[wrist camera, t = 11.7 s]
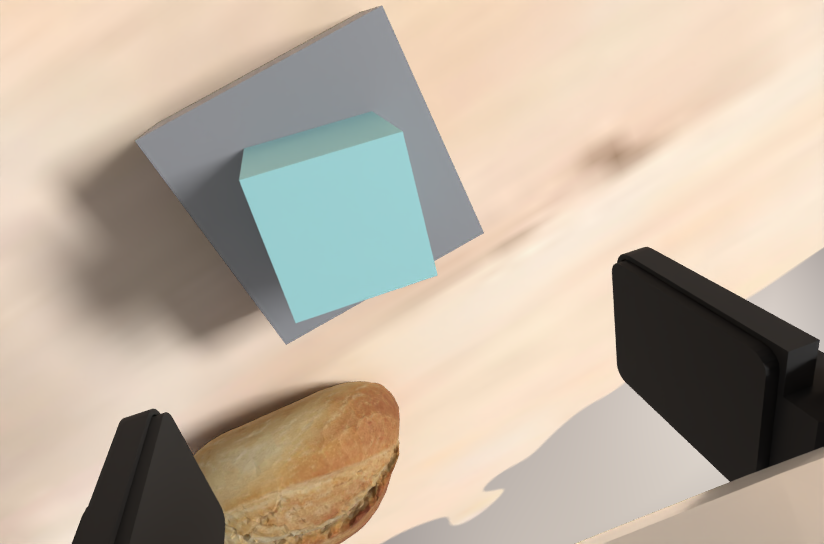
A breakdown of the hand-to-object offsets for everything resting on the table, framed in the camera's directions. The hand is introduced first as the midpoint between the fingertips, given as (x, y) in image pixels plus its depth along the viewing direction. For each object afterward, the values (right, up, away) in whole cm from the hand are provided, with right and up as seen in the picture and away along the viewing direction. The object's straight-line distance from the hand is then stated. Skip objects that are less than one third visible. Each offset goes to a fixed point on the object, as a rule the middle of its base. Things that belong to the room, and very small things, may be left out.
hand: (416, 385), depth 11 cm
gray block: (-5, +8, +20) cm, 22 cm away
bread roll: (-8, -9, +27) cm, 29 cm away
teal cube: (-4, +6, +15) cm, 16 cm away
